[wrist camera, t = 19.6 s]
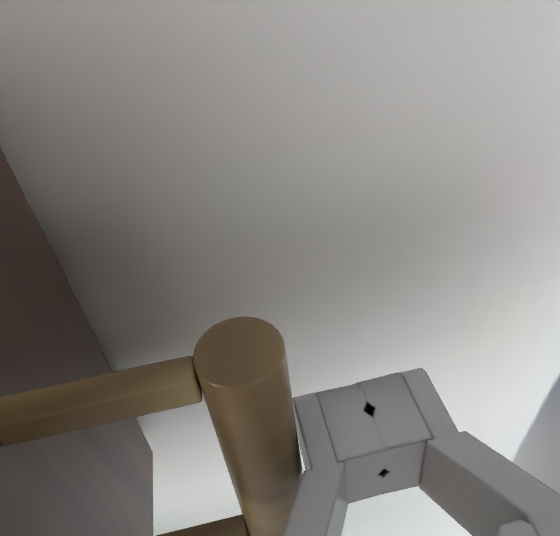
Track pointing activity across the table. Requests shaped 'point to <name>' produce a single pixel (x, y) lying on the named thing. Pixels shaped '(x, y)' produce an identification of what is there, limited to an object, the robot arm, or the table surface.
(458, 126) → the table surface
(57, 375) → the drawer
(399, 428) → the robot arm
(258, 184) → the table surface
